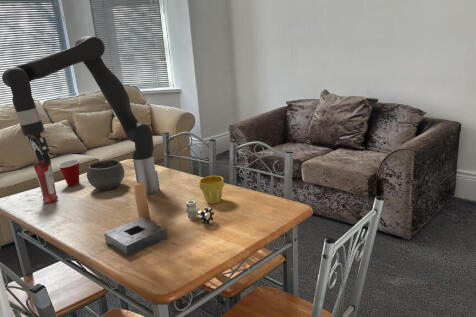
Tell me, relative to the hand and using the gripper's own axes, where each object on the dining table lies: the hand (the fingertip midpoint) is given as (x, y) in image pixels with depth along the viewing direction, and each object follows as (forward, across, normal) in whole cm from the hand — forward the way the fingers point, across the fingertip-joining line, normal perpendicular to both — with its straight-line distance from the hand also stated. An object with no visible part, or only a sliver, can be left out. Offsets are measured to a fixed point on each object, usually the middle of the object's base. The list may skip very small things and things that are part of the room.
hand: (44, 161), depth 162 cm
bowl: (+29, +28, -31) cm, 51 cm away
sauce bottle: (+26, +34, -5) cm, 43 cm away
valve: (+33, -40, -37) cm, 64 cm away
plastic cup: (+27, +49, -21) cm, 60 cm away
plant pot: (+34, -30, -53) cm, 69 cm away
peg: (+31, -22, -24) cm, 44 cm away
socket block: (+30, -36, -12) cm, 49 cm away
